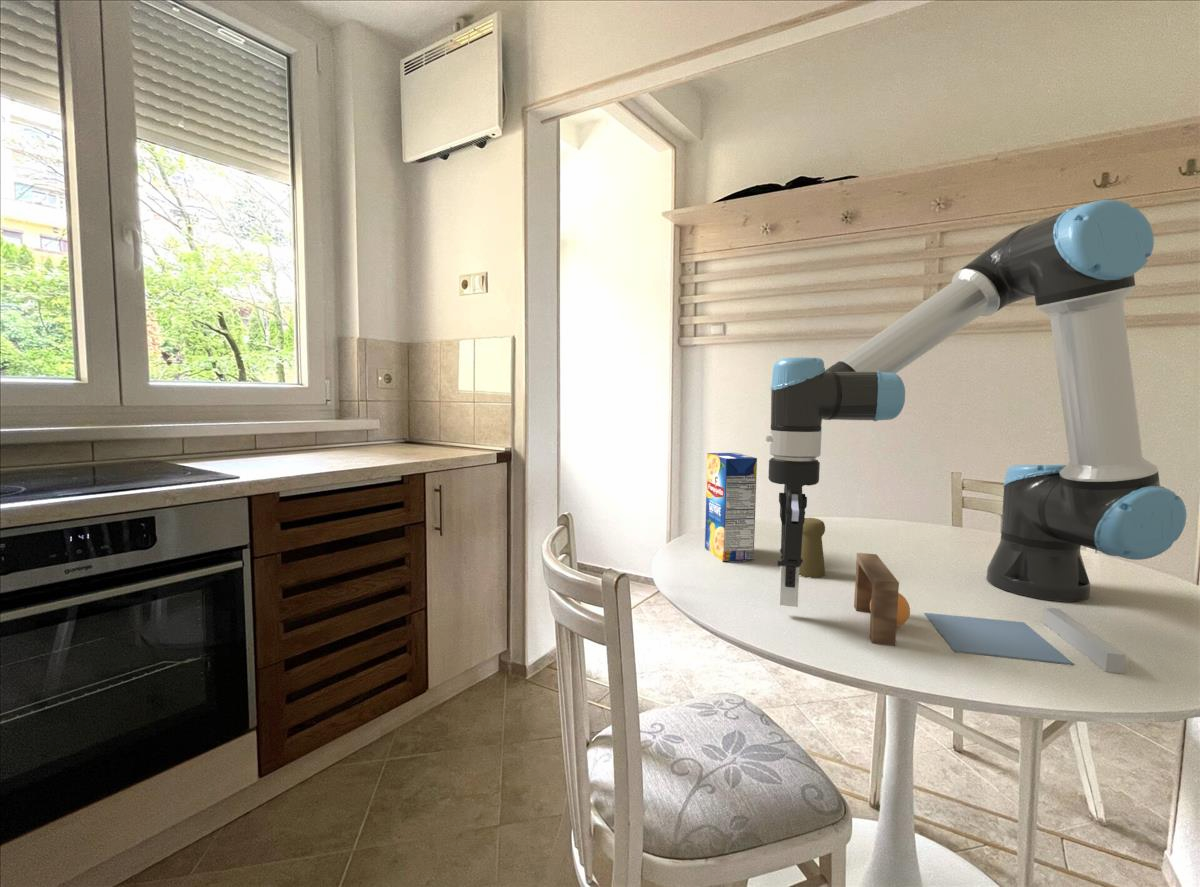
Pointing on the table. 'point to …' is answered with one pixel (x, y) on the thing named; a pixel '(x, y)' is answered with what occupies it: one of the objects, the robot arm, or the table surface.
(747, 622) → the table surface
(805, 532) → the cork
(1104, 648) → the wall
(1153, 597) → the table surface
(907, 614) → the ball
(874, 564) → the bridge
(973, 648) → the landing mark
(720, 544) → the beverage box
